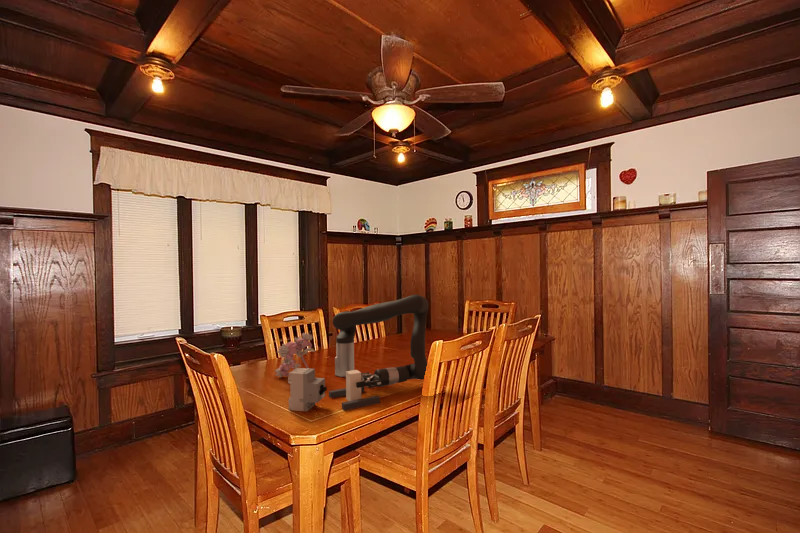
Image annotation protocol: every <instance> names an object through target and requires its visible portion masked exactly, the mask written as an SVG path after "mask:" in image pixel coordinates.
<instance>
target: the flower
mask: <svg viewBox="0 0 800 533" xmlns="http://www.w3.org/2000/svg"><path fill="white" fill-rule="evenodd" d="M310 333H311V330H309V333H308V332H306V333H305V332H304V331H303V333H301V335H300V336H298V337H296V336H295V337H294V338H293V340H294V341H288V342H286V343H282V345H281V346H278V348H279V349H278V350H277V351H276V353H277V354H279V357H280V358H283V359H284V360H282V363H281V364H280V365H279V367H278V368H276V369H275V370H274V372H275V376H276V377H279V378H282V377H284V376H285V377H289V373H290V369H293V370H295V369H296V368H301V367H302V365H301V364H300V363H297V360H296V359H294V355H296V356H297V357H299V358H300V360H301V362H302V363H303V364H304V366H305V367H306V368H309V365H308V364H307V362H306V360H305V358H304V355H307V356H309V354H308V352H310V353H311V352H314V353H316V351H315V349H314V348H312V347H313V345H312V343H311V341H312V339H313V334H310ZM306 347H307V348H306ZM302 368H303V367H302ZM309 369H310V368H309Z"/></svg>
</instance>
